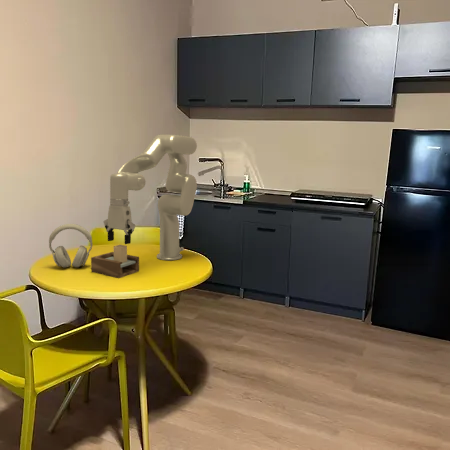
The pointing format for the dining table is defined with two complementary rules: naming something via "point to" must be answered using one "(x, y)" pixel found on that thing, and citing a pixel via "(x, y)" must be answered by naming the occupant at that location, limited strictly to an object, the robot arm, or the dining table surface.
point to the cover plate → (121, 255)
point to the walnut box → (113, 266)
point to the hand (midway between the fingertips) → (119, 242)
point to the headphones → (61, 253)
